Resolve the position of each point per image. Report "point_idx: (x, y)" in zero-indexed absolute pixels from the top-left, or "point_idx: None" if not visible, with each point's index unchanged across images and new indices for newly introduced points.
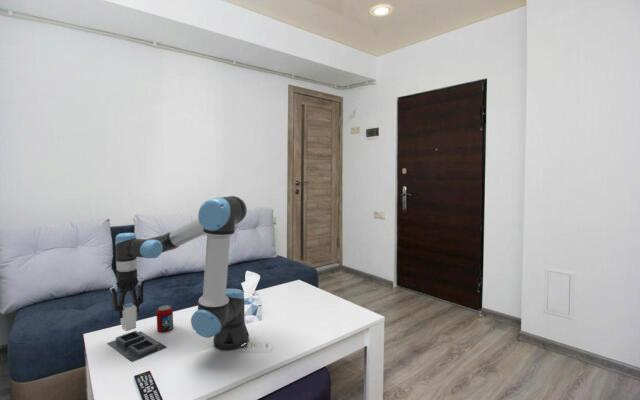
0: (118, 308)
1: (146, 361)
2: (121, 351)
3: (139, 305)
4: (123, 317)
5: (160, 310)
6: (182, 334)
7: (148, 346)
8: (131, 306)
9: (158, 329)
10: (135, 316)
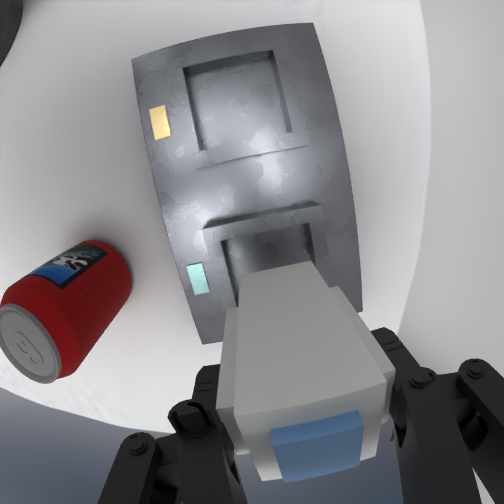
0: (450, 393)
1: (246, 26)
2: (335, 167)
3: (174, 408)
4: (361, 324)
5: (43, 327)
6: (46, 200)
7: (203, 125)
8: (291, 413)
9: (118, 276)
10: (239, 323)
